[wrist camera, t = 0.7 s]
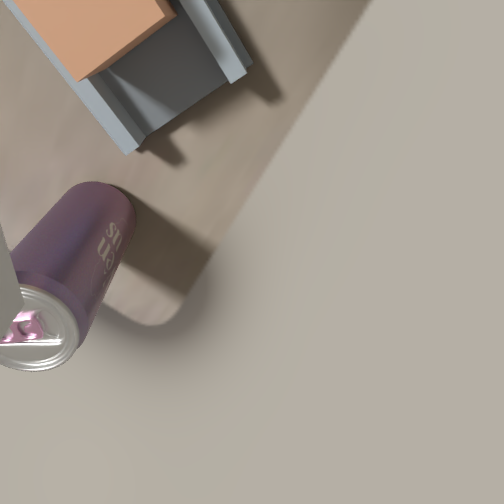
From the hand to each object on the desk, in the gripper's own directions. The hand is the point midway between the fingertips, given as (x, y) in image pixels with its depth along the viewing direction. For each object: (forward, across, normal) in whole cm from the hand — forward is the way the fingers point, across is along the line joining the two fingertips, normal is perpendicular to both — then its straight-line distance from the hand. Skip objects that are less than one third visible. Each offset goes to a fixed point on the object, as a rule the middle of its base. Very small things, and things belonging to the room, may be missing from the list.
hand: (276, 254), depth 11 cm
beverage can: (+24, -12, -10) cm, 28 cm away
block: (+22, -8, +5) cm, 25 cm away
